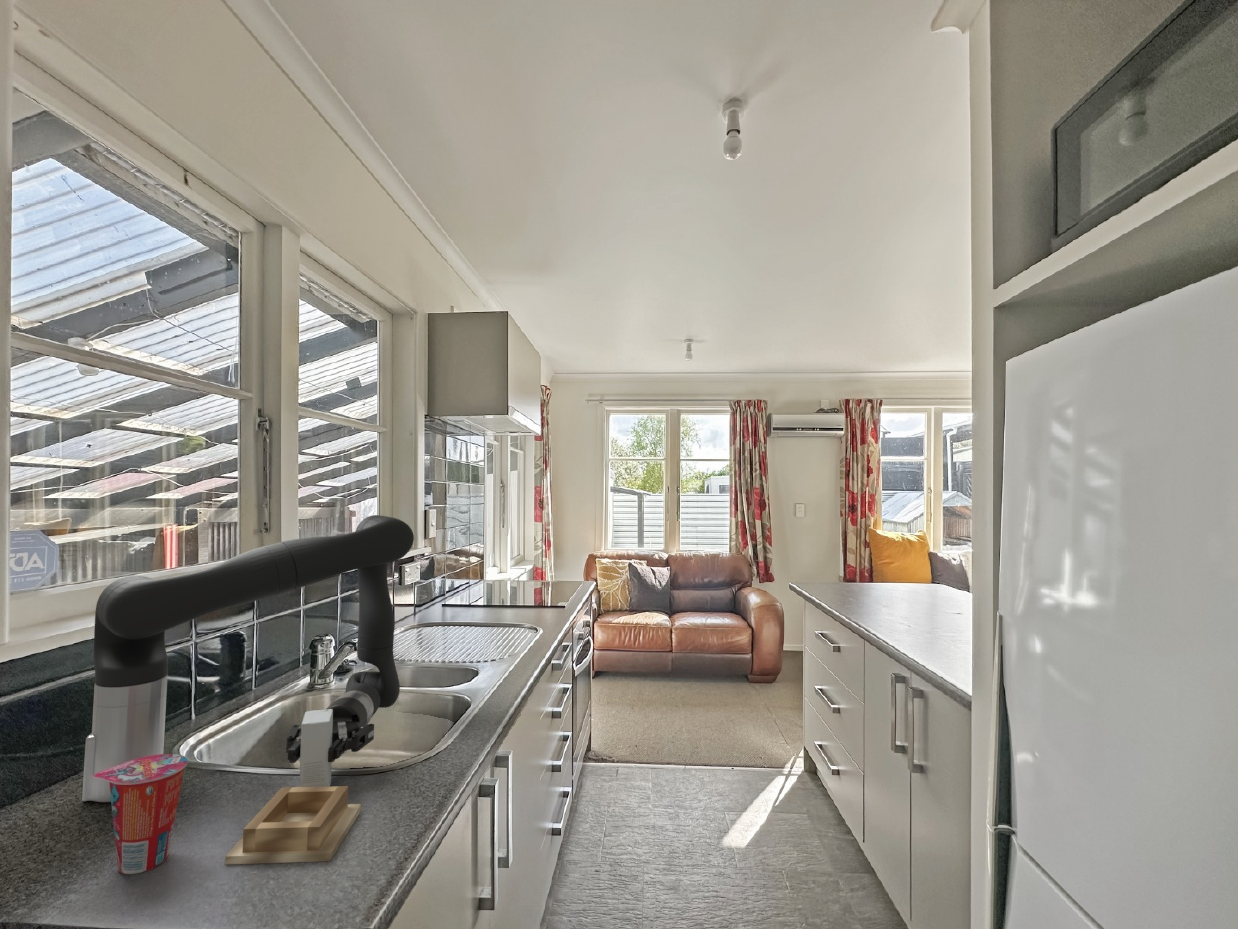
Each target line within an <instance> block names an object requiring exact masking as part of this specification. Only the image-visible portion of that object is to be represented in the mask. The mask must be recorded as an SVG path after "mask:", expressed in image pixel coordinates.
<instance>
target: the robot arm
mask: <svg viewBox="0 0 1238 929" xmlns="http://www.w3.org/2000/svg"><path fill="white" fill-rule="evenodd" d="M414 539H415V536H414V532H413V530H412V528H411V526H409V524H407V523H406V522H405V521H403V520H401V519H400V518H396V517H391V516H386V515H379V514H378V515H377V514H375V515H374V514H373V515H370V516H369V515H368V516H367V517H365V518H363V519H362V520H361V521H360V522H359V523H358V525H357V527H356V529H355V531H353V532H349V533H345V534H340V535H330V536H328V535H327V536H316V537H306V538H305V537H304V538H295V539H289V540H283V541H280V542H276V543H272V544H268V545H264V546H260V547H255V548H254V549H249V550H247V551H245V552H242V553H239V554H238V555H235V556H233V557H231V558H229V559H227V560H225V561H223V562H221V563H217V564H216V565H214V566H211V567H208V568H206V569H203V570H198V571H195V572H191V573H190V572H189V573H184V574H180V575H175V576H170V577H163V578H155V579H154V578H152V577H148V576H145V575H144V576H143V575H129V576H125V577H122V578H118V579H117V580H115V581H113V582H111V583H110V584H108V585H107V586H105V588H104V589H103V591H102V592H101V594H100V595H99V596H98V599H97V602H96V605H95V611H94V612H95V614H94V630H93V631H94V632H93V634H94V635H93V638H94V639H93V665H94V691H93V692H94V693H93V706H92V708H93V709H92V726H91V733H89V735H87V737H85V746H84V763H83V781H82V783H83V784H82V795H81V796H82V797H81V801H82V802H87V801H90V802H91V801H92V802H97V803H111V794H110V783H109V781H107V780H104V779H100V778H96V777H93V776H94V775H95V774H97V773H98V772H100V771H103V770H105V769H108V768H111V767H113V766H116V765H119V764H122V763H125V762H127V761H131V760H134V759H137V758H141V757H146V756H152V755H159V754H164V749H165V748H164V746H165V745H164V744H165V729H166V728H165V727H166V709H167V692H168V672H169V671H168V669H169V659H168V655H167V654H168V653H167V650H166V642H165V633H166V632H165V631H169V630H170V629H173V628H175V627H178V626H180V625H182V624H185V623H188V622H191V621H193V620H195V619H198V618H200V617H203V616H207V615H208V614H211V613H214V612H217V611H221V610H225V609H230V608H233V607H237V606H238V607H239V606H242V605H245V604H246V605H247V604H249V603H254V602H257V601H260V600H264V599H268V598H272V597H275V596H278V595H282V594H285V593H288V592H292V591H295V590H298V589H300V588H303V587H306V586H309V585H312V584H317V583H319V582H322V581H324V580H328V579H330V578H334V577H336V576H339V575H341V574H344V573H345V574H346V573H347V572H351V571H355V570H357V581H358V582H357V583H358V603H359V604H358V610H359V611H358V628H357V629H358V630H357V647H356V656H357V659H358V660H359V661H360V662H363V663H366V664H369V665H373V666H375V667H376V668H377V669H378V671H358V672H355V673H352V674H351V675H350V676H349V677H348V679H347V682H346V685H345V692H344V693H343V694H341V695H339V696H338V697H337V698H336V699H335V700H334V701H333V702H332V703H331V704H329V705H328V707H327V708H326V709H333V727H332V745H331V747H330V748H329V750H328V762H332V763H334V762H335V761H336V760H338V759H339V758H341V756H342V755H343V754H346V753H347V752H348V751H349V750H350V752H352V753H356V752H359V751H361V749H363V748H364V747H365V746H367V745H368V744H369V743H371V742H372V741H374V738H375V724H374V723H370V722H371V719H372V718H373V716H374V715H375V713H377V711H378V710H379V709H380V708H382V709H384V708H390V707H392V706H393V705H395V703H396V701H398V698H399V696H400V690H401V689H400V688H401V687H400V686H401V685H400V681H399V675H398V670H397V667H396V663H395V662H396V661H395V656H394V638H395V615H394V608H393V604H392V598H391V596H390V595H391V594H390V591H389V589H390V588H389V584H388V567H389V566H388V564H389V563H390V564H391V563H394V562H397V561H398V560H401V559H402V558H403V557H405V556H406V555H407V554H408V553H409V552H410V550H411V549H412V547H413V545H414ZM300 726H301V725H300V724H293V725H291V727H290V729H289V731H288V733H287V735H286V740H285V753H286V754H287V760H288V761H289V763H290V764H295V763H297V761H298V760H300V753H301V727H300Z"/></svg>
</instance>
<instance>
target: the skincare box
mask: <svg viewBox="0 0 1238 929" xmlns="http://www.w3.org/2000/svg"><path fill="white" fill-rule="evenodd" d="M302 718H303V719H302V721H301V725H300V726H301V753H300V758H299V760H300V762H299V787H331V782H332V764H333V762H328V750H329V748H330V747H331V745H332V727H333V709H327V708H326V709H317V710H315V709H314V710H308V711H305V712H304V714H303V717H302Z"/></svg>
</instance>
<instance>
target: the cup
mask: <svg viewBox="0 0 1238 929" xmlns="http://www.w3.org/2000/svg"><path fill="white" fill-rule="evenodd" d="M188 760H189V759H188V757H187V756H185V755H183V754H182V755H181V754H176V753H175V754H174V753H163V754H159V755H152V756H146V757H141V758H137V759H134V760H131V761H127V762H125V763H122V764H119V765H116V766H113V767H111V768H108V769H105V770H103V771H100V772H98V773H97V774H95V775H94V776H93V777H96V778H100V779H104V780H107V781H109V783H110V794H111V802H110V803H111V813H112V815H111V816H112V825H113V826H112V827H113V835H114V844H115V845H114V846H115V854H116V864H117V871H118V872H119V873H120V874H123V875H134V874H140V873H143V872H147V871H151V870H153V869H154V868H157V867H159V866H160V865H162V864H163V863H164V862H165V861H166V860H167V858H168V856H169V854H168V853H169V849H170V845H171V839H172V834H173V829H174V824H175V821H176V814H177V808H178V804H179V798H180V792H181V787H182V783H183V778H184V772H185V768H186V767H187V765H188V762H189V761H188Z"/></svg>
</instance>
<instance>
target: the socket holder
mask: <svg viewBox="0 0 1238 929" xmlns="http://www.w3.org/2000/svg"><path fill="white" fill-rule="evenodd" d="M361 812H362V803H350V804H349V785H341V786H339V785H338V786H331V785H330V787H300V786H296V787H295V786H294V787H293V786H292V787H288V786H287V787H286V786H285V787H281V788H280V789H279V790H277V792H276V793H275V794H274V795H273V796H272V798H270V800H269V801H268V802H267V803H266V804H265V805H264V806H263V807H262V808H261V809H260V811H259V812H258V813H256V814H255V816H254V817H253V818H252V819H251V821H250V822H248V823H247V824H246V826H244V828H243V834H242V835H243V836H242V837H241V838H240V839H239V840H238V842H237V843H236V844H235V845H234V846H233V847H232V848H231V850H230V851H228V853H227V854H226V855H225V857H224V865H248V864H249V865H251V864H253V865H254V864H279V863H304V862H305V863H309V862H312V863H313V862H331V860H333V857H334V856H335V854H336V853H337V851H338V849H339V848H340V846H341V844H342V842H343V841H344V840H345V838H346V836H347V835H348V833H349V831H350V829H351V828H352V826H353V824H354V823H355V821H356V819H357V818H358V816H359V814H360V813H361Z"/></svg>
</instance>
